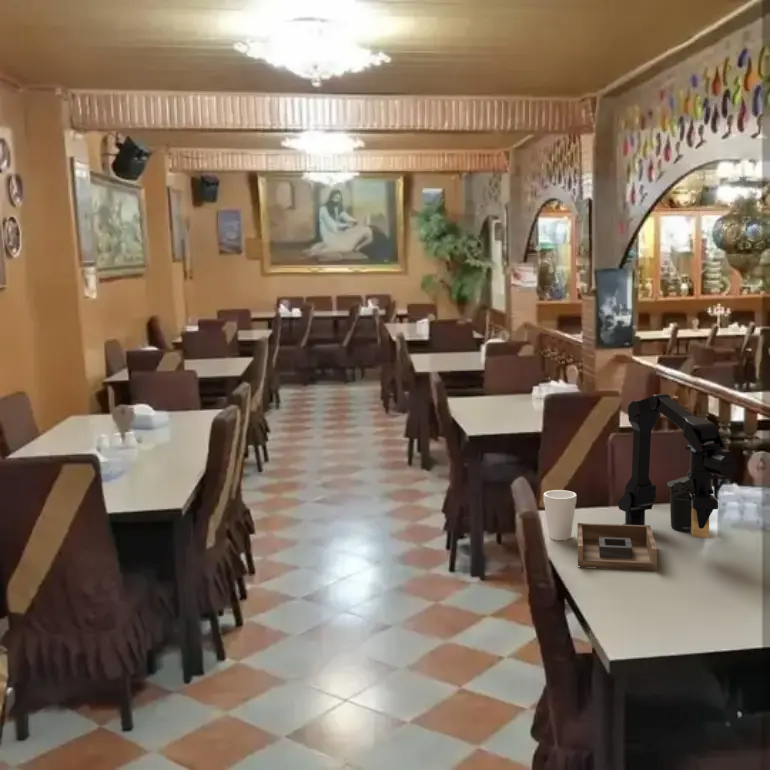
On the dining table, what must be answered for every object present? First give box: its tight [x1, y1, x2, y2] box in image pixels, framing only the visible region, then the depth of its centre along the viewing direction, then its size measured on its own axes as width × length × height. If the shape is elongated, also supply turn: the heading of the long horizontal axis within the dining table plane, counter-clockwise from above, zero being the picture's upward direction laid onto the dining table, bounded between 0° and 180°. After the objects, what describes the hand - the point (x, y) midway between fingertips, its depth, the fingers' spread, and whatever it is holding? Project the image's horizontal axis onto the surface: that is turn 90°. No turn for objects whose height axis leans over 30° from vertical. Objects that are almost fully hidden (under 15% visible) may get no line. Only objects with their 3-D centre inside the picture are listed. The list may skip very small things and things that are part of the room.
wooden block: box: [690, 507, 710, 539], centre depth 237 cm, size 4×4×8 cm
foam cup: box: [543, 489, 578, 541], centre depth 259 cm, size 10×9×13 cm
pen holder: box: [669, 492, 692, 533], centre depth 264 cm, size 9×9×10 cm
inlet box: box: [576, 522, 658, 572], centre depth 242 cm, size 20×20×6 cm
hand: (699, 525), depth 238 cm, fingers closed on wooden block, 4 cm apart
